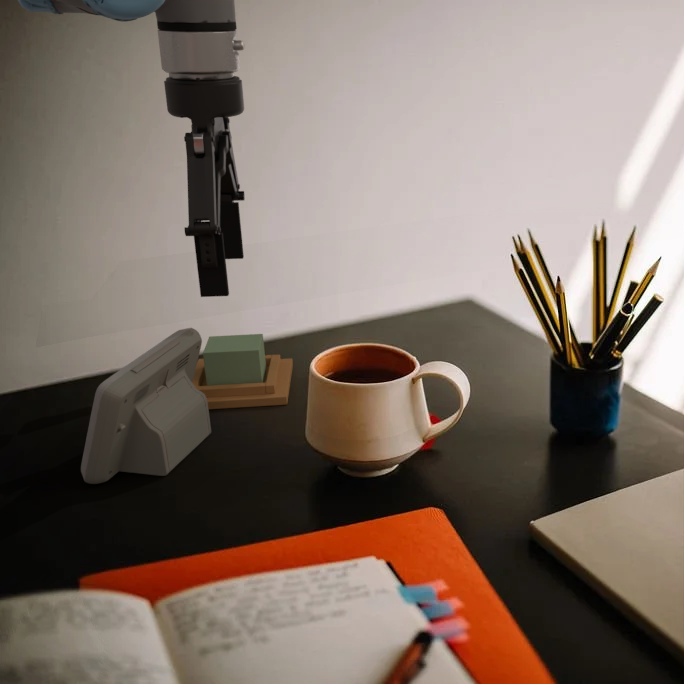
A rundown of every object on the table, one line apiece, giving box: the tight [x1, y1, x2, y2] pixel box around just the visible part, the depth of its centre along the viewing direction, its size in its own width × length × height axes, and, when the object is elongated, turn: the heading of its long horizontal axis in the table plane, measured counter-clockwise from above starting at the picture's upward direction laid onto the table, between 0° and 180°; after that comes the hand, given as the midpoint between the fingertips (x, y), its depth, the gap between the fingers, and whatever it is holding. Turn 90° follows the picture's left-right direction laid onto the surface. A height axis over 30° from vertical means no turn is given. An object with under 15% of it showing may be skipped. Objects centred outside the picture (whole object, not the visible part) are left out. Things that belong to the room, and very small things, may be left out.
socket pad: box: [192, 354, 294, 410], centre depth 104 cm, size 12×11×2 cm
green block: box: [202, 333, 266, 386], centre depth 103 cm, size 6×5×4 cm
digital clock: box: [80, 327, 212, 485], centre depth 88 cm, size 16×9×11 cm, turn 158°
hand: (223, 275), depth 99 cm, fingers open, 13 cm apart
